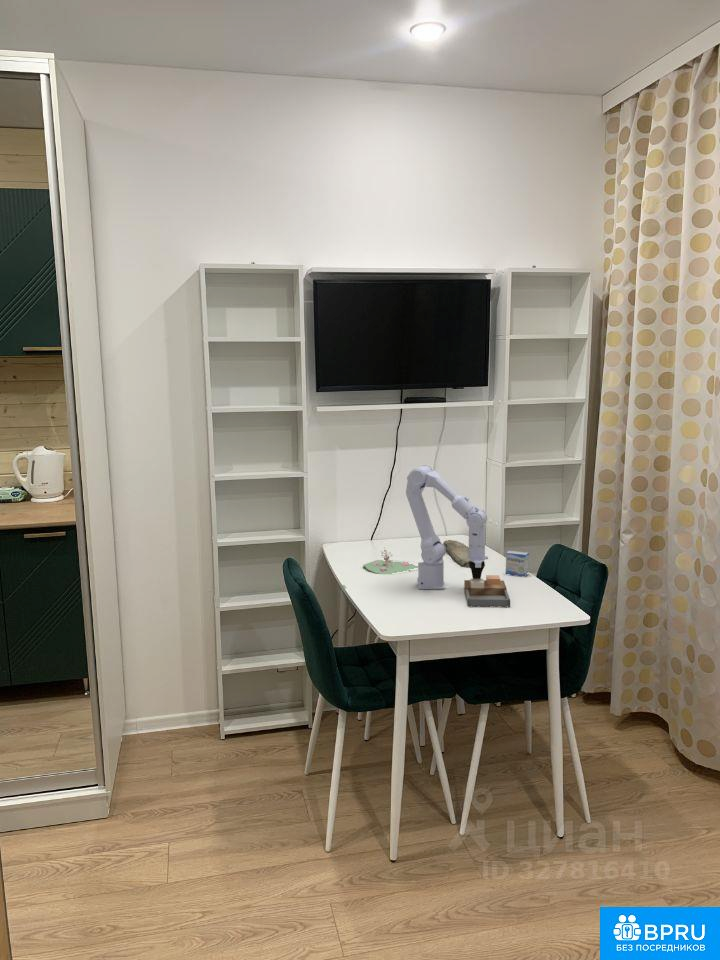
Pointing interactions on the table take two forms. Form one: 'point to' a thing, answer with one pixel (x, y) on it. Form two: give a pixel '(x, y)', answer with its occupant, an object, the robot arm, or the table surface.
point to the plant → (388, 566)
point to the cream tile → (477, 583)
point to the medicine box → (517, 563)
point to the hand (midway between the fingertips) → (476, 581)
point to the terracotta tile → (492, 579)
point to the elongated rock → (458, 552)
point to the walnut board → (486, 589)
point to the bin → (487, 600)
